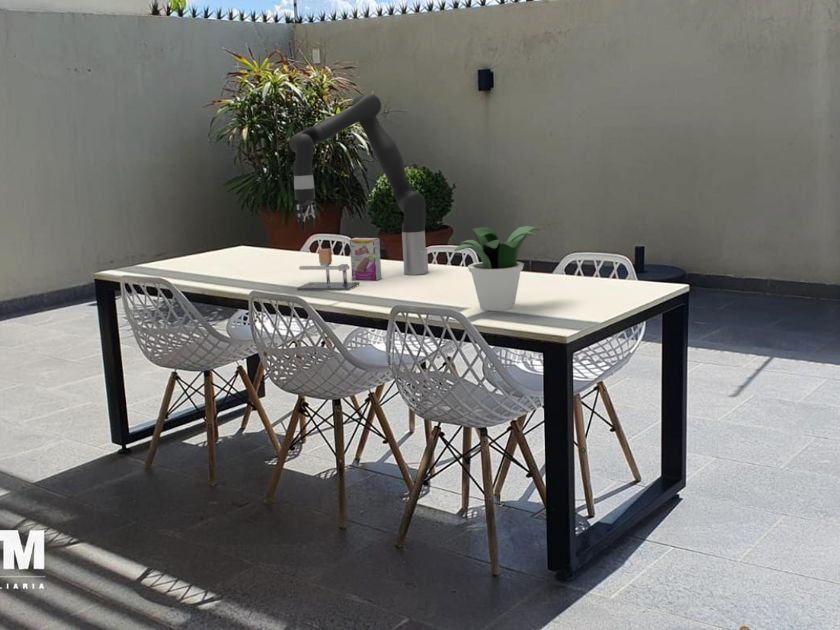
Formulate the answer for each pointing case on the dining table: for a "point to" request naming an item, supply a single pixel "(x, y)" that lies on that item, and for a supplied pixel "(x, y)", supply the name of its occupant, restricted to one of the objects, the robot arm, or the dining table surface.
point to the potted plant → (496, 267)
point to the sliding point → (325, 260)
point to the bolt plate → (331, 286)
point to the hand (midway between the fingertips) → (307, 230)
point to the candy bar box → (365, 258)
